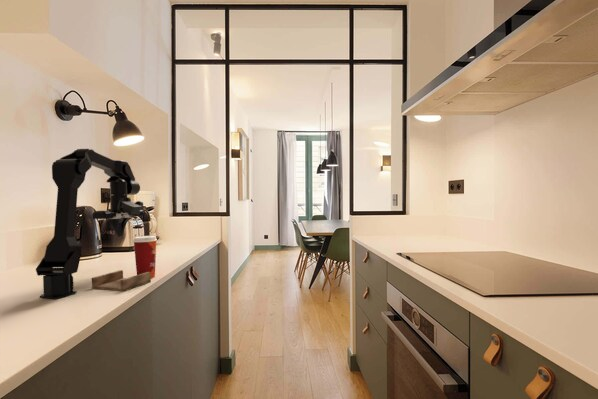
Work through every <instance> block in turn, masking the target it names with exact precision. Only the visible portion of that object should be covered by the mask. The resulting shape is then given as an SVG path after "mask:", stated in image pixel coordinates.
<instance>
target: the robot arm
mask: <svg viewBox="0 0 598 399" xmlns="http://www.w3.org/2000/svg"><path fill="white" fill-rule="evenodd" d="M92 167H95V168H98V169H99V170H103V173H104V174H105V175H107V177H109V178H108V179H107V180H106V183H109V197H107V201H108V202H109V201H110V203H109V204H110V207H109V208H108V209H107V210H94V211H93V212H92V214H91V215H92V220H106V221H107V222H109V224H110V225H111V227H112V228H113V231H114V233H115V234H116V236H117V237H119V238H120V237H121V238H122V236H123V235H124V232H125V229H126V226H127V224H128V222H129V221H130V220H132V219H133V217H131V216H137V217H142V216H144V211H143V210H144V207H145V206H144V202H143V201H140V200H138V201H135V202H134V201H133V202H132V199H131V197H128V196H132V195H133V196H134V195H137V194H138V193H139V192H140V191H141V186H140V183H139V182H138V181H137V180H136V177H135V175H134V172H133V170H132V169H131V166H130V164H129V163H128V161H126V160H117V159H112V158H110V157H108V156H106V155H103V154H101V153H99V152H96V151H95V150H94V149H91V148H77V149H75V150H74V151H72V152H71V153H70V154H66V155H64V156H62V157H60V158H59V159H56V160H55V161H54V162H52V166H51V177H52V181H53V182H54V183H55V185H56V187H57V195H56V205H55V206H56V207H55V219H54V220H55V221H54V232H53V237H52V238H51V240H50V241H49V243H48V244H47V245H46V248H45V253H44V256H43V257H42V259H41V260H40V262H39V263H38V265H37V266H36V268H35V272H36V275H37V276H38V277H39V276H42V280H43V281H42V284H43V294H41V295H39V298H41V299H53V300H56V299H61V298H64V297H67V296H71V295H73V294H77V290H74V276H73V274H75V273H77V272H78V271H79V270H78V269H79V265H80V260H81V257H82V245H83V244H82V243H81V241H80V242H79V241H77V239H76V237H75V231H76V230H75V229H76V218H77V217H76V216H77V206H78V205H77V204H78V193H79V192H78V191H79V188H80V187H81V186H82V184H83V183H84V181H85V178H86V174H87V172H88V171H89V170H90V169H91V168H92Z"/></svg>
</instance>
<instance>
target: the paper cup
mask: <svg viewBox="0 0 598 399" xmlns="http://www.w3.org/2000/svg"><path fill="white" fill-rule="evenodd" d="M157 241H158V239H157V236H156V235H141V236H135V237H134V238H133V241H132V242H133V246H134V257H135V270H136V275H139V274H142V273H145V272H150V279H153V278H155V276H156V261H157V260H156V258H157V256H156V255H157Z"/></svg>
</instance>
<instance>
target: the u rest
mask: <svg viewBox="0 0 598 399" xmlns="http://www.w3.org/2000/svg"><path fill="white" fill-rule="evenodd" d="M151 279H152V278H150V272H145V273H142V274H139V275H137V274H136V275H133V276H130V277H124V270H122V269H121V270H120V269H119V270H116V271H113V272H108V273H105V274H101V275H97V276H94V277H91V289H94V290H95V289H97V290H106V291H107V290H109V291H119V292H120V291H121V292H126V291H129V290H131V289H134V288H137V287H140V286H143V285H145V284H148V283H151Z"/></svg>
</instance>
